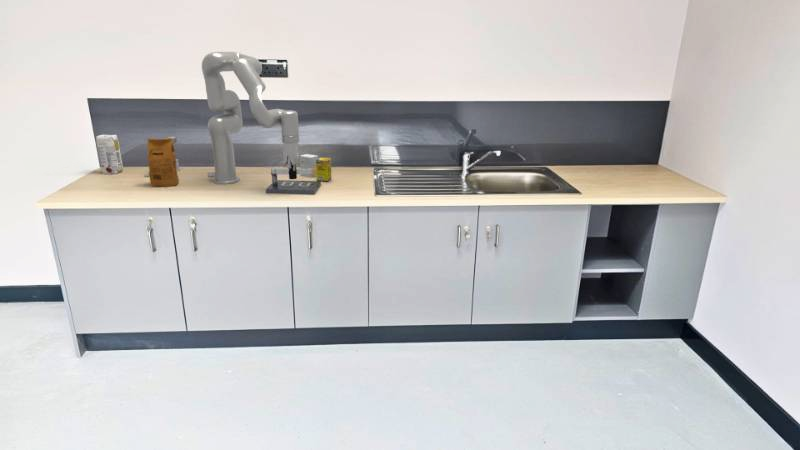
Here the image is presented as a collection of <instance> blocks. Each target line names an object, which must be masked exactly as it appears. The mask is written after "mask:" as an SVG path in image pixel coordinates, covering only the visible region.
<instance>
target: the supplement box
mask: <svg viewBox="0 0 800 450" xmlns="http://www.w3.org/2000/svg"><path fill="white" fill-rule="evenodd" d="M316 174H317V176H316V181H321V183H329V182H330V181H331V180H332V158H331V157H318V159H317V160H316Z"/></svg>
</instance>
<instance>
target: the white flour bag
mask: <svg viewBox="0 0 800 450" xmlns="http://www.w3.org/2000/svg"><path fill="white" fill-rule="evenodd" d="M95 139H96V140H95V141H96V146H97V151H98V152H97V153H98V155H99V156H98V157H99V163H100V167H101V171H102V173H103V174H104V175H118V174H120V173H122V172H123V170H124V166H123V165H124V164H123V159H122V155H121V150H120V149H121V148H120V143H119V138H118V136H117V134H100V135H97V136H95Z"/></svg>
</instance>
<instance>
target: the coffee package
mask: <svg viewBox="0 0 800 450" xmlns="http://www.w3.org/2000/svg"><path fill="white" fill-rule="evenodd" d="M173 141H174V140H173ZM173 141H172V138H169V137H166V139H165V138H160V139H157V138H150V137H148V138H147V162H148V169H149V171H148V173H149V177H148V178H149V181H150V186H151V187H152V188H154V187H163V188H166V187H172V186H173V187H175V186H177V185H178V183H179V181H180V179H179V175H178V172H177V171H176V168H177V167H176V151H175V146H173Z"/></svg>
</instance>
